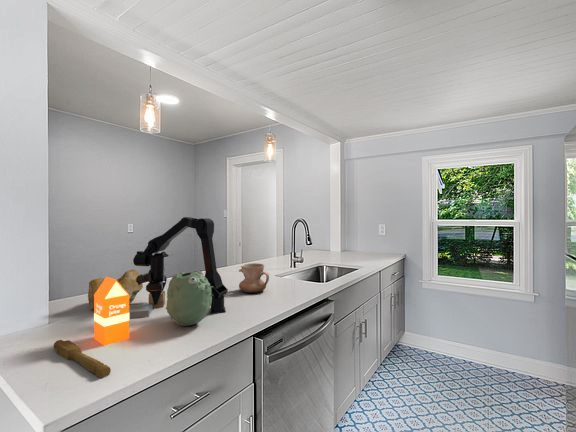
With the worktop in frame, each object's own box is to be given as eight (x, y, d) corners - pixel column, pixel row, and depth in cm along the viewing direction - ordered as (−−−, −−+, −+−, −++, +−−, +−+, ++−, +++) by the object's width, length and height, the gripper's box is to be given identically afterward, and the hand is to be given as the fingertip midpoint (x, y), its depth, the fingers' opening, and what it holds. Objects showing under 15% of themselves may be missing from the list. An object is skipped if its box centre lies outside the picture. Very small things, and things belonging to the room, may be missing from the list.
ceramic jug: (231, 292, 161) (231, 265, 161) (246, 286, 174) (246, 261, 174) (261, 297, 154) (261, 269, 153) (274, 290, 167) (274, 264, 167)
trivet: (148, 316, 123) (148, 310, 123) (121, 319, 120) (121, 312, 120) (152, 309, 132) (152, 303, 132) (127, 311, 130) (127, 305, 130)
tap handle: (98, 369, 76) (51, 340, 93) (98, 381, 76) (51, 350, 93) (111, 364, 79) (63, 337, 95) (111, 375, 79) (63, 346, 95)
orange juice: (118, 331, 107) (118, 274, 107) (129, 338, 101) (129, 278, 101) (93, 338, 101) (93, 278, 101) (103, 346, 95) (103, 282, 95)
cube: (163, 307, 135) (163, 294, 135) (148, 308, 134) (148, 295, 134) (165, 303, 141) (165, 290, 141) (150, 304, 139) (150, 291, 139)
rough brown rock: (127, 297, 154) (125, 268, 154) (147, 299, 145) (145, 268, 146) (76, 311, 134) (73, 277, 134) (96, 314, 126) (93, 278, 126)
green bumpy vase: (183, 314, 125) (183, 266, 125) (222, 321, 118) (222, 269, 118) (153, 328, 111) (153, 272, 110) (195, 336, 103) (195, 277, 103)
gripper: (141, 264, 144) (141, 297, 144) (132, 271, 126) (132, 309, 126) (167, 263, 147) (167, 295, 147) (161, 270, 129) (161, 307, 129)
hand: (157, 301), depth 137 cm, fingers open, 9 cm apart
